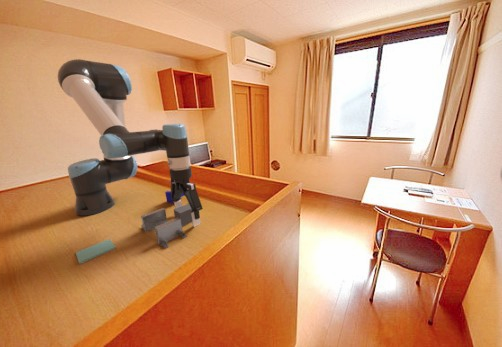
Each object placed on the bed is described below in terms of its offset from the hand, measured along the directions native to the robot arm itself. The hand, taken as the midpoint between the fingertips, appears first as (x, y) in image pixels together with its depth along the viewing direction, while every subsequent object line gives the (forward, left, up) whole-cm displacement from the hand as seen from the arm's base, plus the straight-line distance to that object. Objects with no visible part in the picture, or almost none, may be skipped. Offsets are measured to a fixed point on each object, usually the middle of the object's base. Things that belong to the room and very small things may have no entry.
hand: (188, 220), depth 77 cm
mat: (-7, -28, 0) cm, 29 cm away
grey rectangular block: (0, 0, 0) cm, 1 cm away
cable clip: (-25, +8, -1) cm, 26 cm away
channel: (0, -10, 0) cm, 10 cm away
